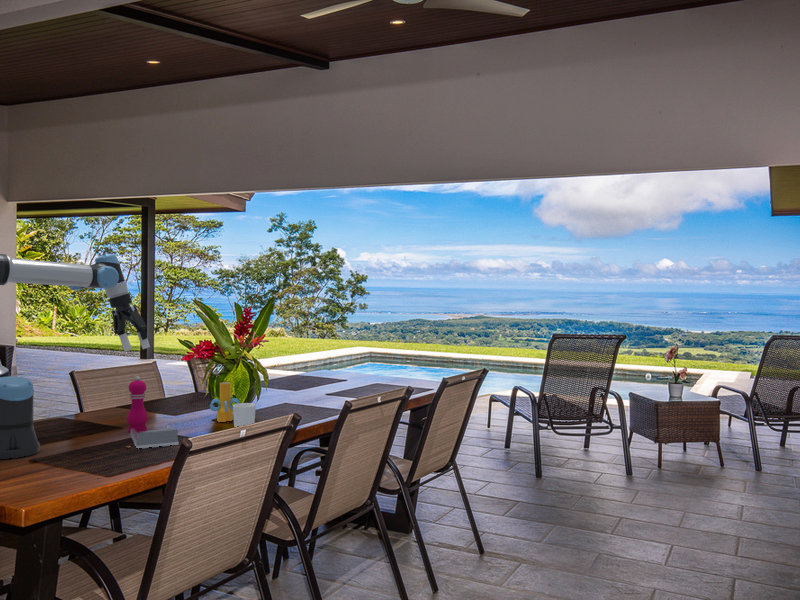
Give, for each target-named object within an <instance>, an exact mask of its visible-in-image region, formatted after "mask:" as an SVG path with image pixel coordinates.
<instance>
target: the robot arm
mask: <svg viewBox="0 0 800 600" xmlns="http://www.w3.org/2000/svg"><path fill="white" fill-rule="evenodd" d="M94 260H95V261H94V263H93V264H79V263H70V262H61V261H60V262H58V261H49V260H48V261H46V260H36V259H25V258H24V259H23V258H12V257H9V256H8V255H7V254H6V253H0V286H5V285H7V284H8V283H15V284H16V283H17V284H29V285H48V286H49V285H50V286H64V287H65V286H67V287H68V289H70V290H71V291H79V290H80V291H81V290H82V289H83V290H84V289H104V291H105V294H106V297H107V298H108V303H109V305H110V307H111V309H112V310H111V314H112V315H111V316H112V321H113V322H112V323H113V330H114V331H113V332H114V335H117V336H118V337H119V341H120V343H121V346H122V348H123V351H124V352H128V351H131V350H133V348H132V345H131V342H130V339H129V337H128V335H127V331H126V321H129V323H130V324H131V325H132V326H133V327H134V329H135V330H136V334H137V337H138V340H139V344H140V347H141V349H142V350H145V349H148V348H151V346H150V345H151V344H150V343H149V339H148V337H147V334H146V331H145V330H146V329H147V328H148V325H147V323H146V322H145V320H144V319H143V317H142V316H141V314H140V312H139V311H138V309H137V307H136V305H135V304H134V305H133V304H132V305H130V304H131V303H132V302H133V300H132V297H131V295H130V293H128V292H129V289H128V284H127V282H126V280H125V276H124V274H123V273H124V272H123V271H122V268H121V263H120V262H119V260H118V257H117V255H116V254H115V253H109V254H106V255H100V256H97V257H96V258H94ZM114 308H115V309H114ZM34 394H35V389H34V383H33V381H32V380H31V379H30V378H27V377H23V376H16V375H14V376H13V375H12V376H11V373H10V371H9V368H8V367H5V366H4V365H2V362H1V360H0V460H8V459H9V458H12V459H17V458H19V457H20V458H25V457H29V456H32V455H36V454H38V453H39V452H41V444H40V441H38V437H37V434H36V430H35V428H34V398H35V397H34ZM24 456H25V457H24ZM9 460H10V459H9Z"/></svg>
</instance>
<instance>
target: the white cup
mask: <svg viewBox="0 0 800 600" xmlns="http://www.w3.org/2000/svg"><path fill="white" fill-rule="evenodd" d="M232 406H233V426H234V427H237V426H243V425H249V424H252V423H254V424H255V423H256V422H255V420H256V404H255V403H252V402H251V403H250V402H242V403H240V402H239V404H237V403H235V404H233V405H232Z"/></svg>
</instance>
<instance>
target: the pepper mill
mask: <svg viewBox="0 0 800 600" xmlns="http://www.w3.org/2000/svg"><path fill="white" fill-rule="evenodd" d="M128 391H129V393H130V394H129V395H130V396H129V398H130V399H131V406H130V409H129V411H128V413H127V416H126V423H127V424H128V425H129V426H128V427H127V432H128V433H130V432H131V429H132V428H134V429H135V431H136V432H140V431H148V429H147V428H148V426H147V425H146V424H147V423H148V421H149V415H148V413H147V410H146V408H145V405H144V399H145V398H146V397H145V395H146V393H145V391H147V384H146V382H144V381H143V380H141V377H140V376H139V375H137V376H135V377H134V380H132V381H131V382H130V383H129V385H128Z"/></svg>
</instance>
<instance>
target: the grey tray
mask: <svg viewBox="0 0 800 600" xmlns="http://www.w3.org/2000/svg"><path fill="white" fill-rule="evenodd" d="M129 433H130V435H129V436H130V437H131V440H132V442H133V444H134V447H135V446H136V447H135V449H136V448H138V449H137V450H139V448H142V449H150V448H149V447H152V448H159V446H162V447H169V446H170V445H172V446H179V440H178V438H179V435H178V434H179V433H178V429H177V428H172V426H170V425H169V424H168V425H165V428H164V429H154V430H147V431H140V432H136V431H135V429H134V428H132V429H131V432H129Z"/></svg>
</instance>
